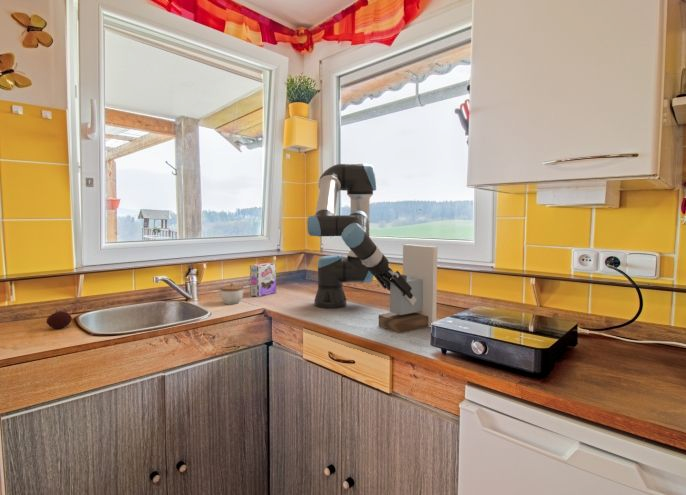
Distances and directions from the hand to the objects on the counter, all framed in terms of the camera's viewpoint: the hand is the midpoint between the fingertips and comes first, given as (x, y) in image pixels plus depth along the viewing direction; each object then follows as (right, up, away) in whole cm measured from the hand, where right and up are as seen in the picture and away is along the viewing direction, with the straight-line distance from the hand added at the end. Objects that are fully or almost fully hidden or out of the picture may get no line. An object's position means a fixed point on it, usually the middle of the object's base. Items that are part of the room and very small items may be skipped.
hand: (407, 300), depth 140 cm
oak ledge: (-2, -9, 0) cm, 10 cm away
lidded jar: (-78, -7, +39) cm, 87 cm away
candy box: (-67, -5, +58) cm, 89 cm away
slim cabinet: (-1, -4, 0) cm, 4 cm away
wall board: (+5, -9, +4) cm, 11 cm away
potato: (-130, -10, -1) cm, 130 cm away
